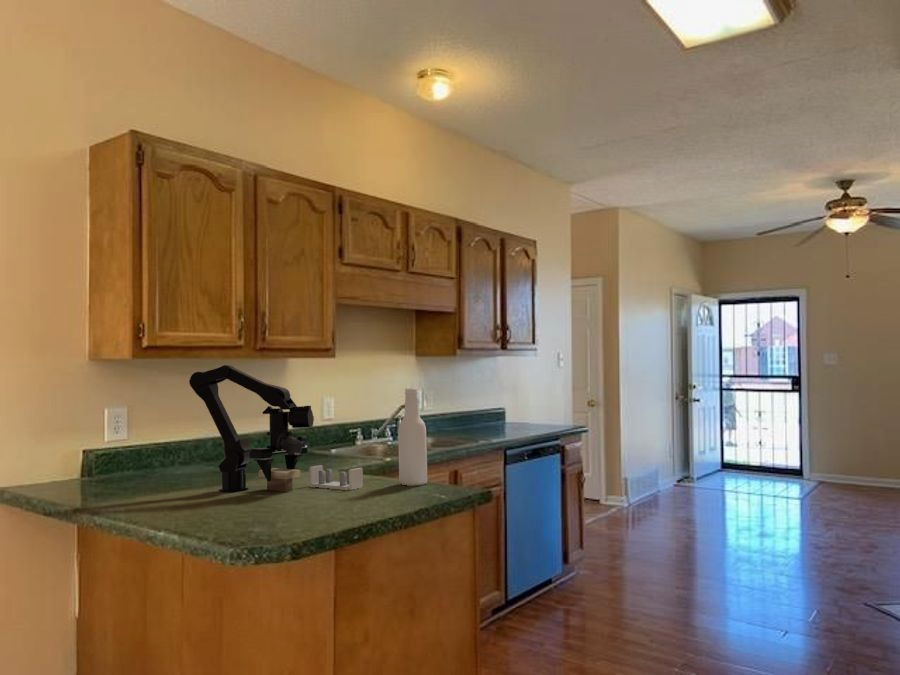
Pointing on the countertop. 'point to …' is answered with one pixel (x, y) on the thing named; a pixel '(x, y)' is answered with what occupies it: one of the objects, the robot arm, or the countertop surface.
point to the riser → (280, 484)
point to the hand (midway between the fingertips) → (279, 479)
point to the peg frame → (318, 481)
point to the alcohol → (412, 443)
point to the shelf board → (282, 473)
